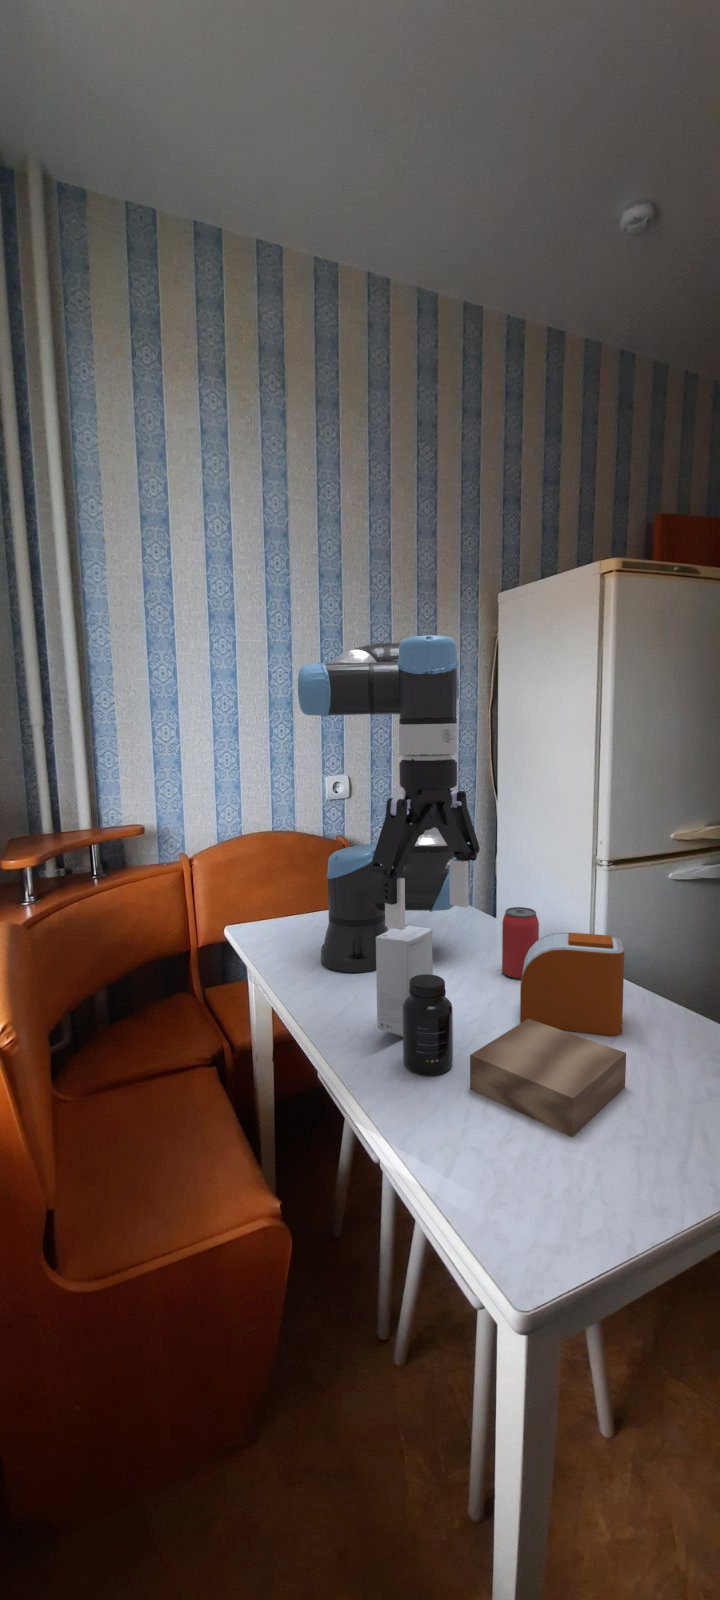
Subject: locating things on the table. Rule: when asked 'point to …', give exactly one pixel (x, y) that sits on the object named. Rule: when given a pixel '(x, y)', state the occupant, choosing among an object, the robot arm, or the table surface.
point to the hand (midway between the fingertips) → (428, 916)
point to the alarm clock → (574, 983)
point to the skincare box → (399, 971)
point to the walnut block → (548, 1074)
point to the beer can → (518, 939)
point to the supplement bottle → (427, 1026)
